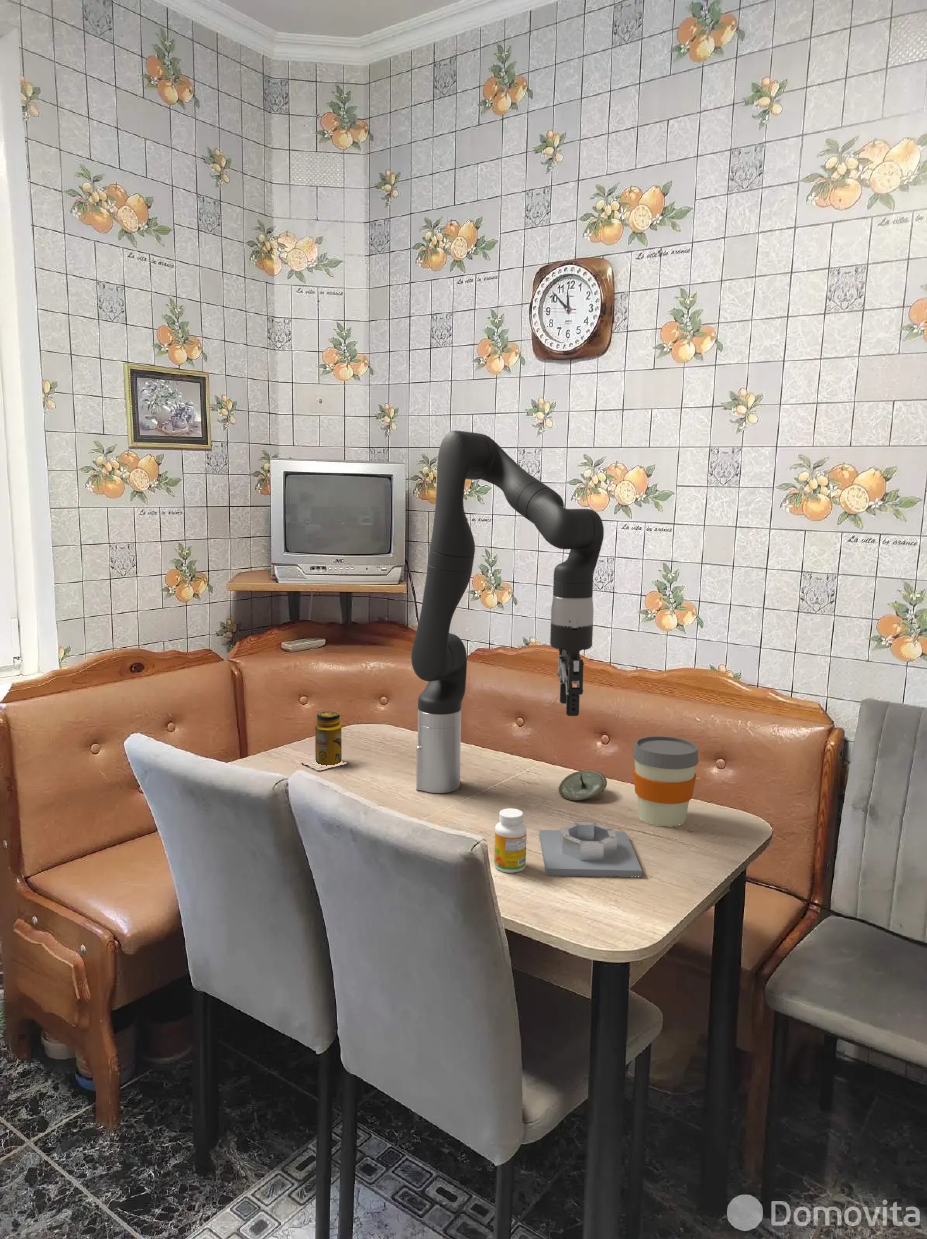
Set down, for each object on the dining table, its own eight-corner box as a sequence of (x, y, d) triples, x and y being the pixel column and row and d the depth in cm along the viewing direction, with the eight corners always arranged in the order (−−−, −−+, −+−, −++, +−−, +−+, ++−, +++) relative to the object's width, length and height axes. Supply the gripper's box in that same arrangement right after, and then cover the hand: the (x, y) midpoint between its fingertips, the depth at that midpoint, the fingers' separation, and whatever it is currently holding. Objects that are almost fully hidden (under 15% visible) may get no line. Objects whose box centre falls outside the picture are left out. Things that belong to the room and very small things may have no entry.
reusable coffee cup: (617, 811, 170) (620, 739, 167) (668, 802, 175) (672, 732, 172) (654, 834, 158) (659, 758, 156) (708, 825, 163) (713, 750, 161)
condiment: (349, 764, 195) (349, 714, 194) (318, 772, 190) (318, 720, 188) (331, 756, 201) (330, 707, 199) (300, 764, 195) (300, 714, 193)
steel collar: (563, 860, 144) (564, 843, 144) (558, 837, 153) (559, 821, 153) (619, 861, 144) (620, 844, 143) (610, 838, 153) (611, 822, 153)
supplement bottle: (492, 859, 147) (493, 806, 145) (522, 859, 147) (524, 806, 146) (496, 874, 141) (497, 819, 140) (527, 873, 142) (529, 818, 140)
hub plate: (546, 875, 141) (546, 868, 141) (539, 835, 157) (539, 829, 157) (641, 877, 141) (642, 870, 141) (625, 837, 157) (625, 831, 156)
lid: (616, 796, 177) (617, 774, 177) (584, 807, 171) (585, 784, 171) (580, 782, 186) (580, 761, 185) (548, 792, 179) (548, 770, 179)
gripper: (546, 615, 157) (544, 699, 160) (555, 627, 143) (553, 719, 146) (586, 615, 157) (583, 699, 160) (599, 628, 143) (596, 720, 146)
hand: (568, 709), depth 153 cm, fingers open, 8 cm apart
